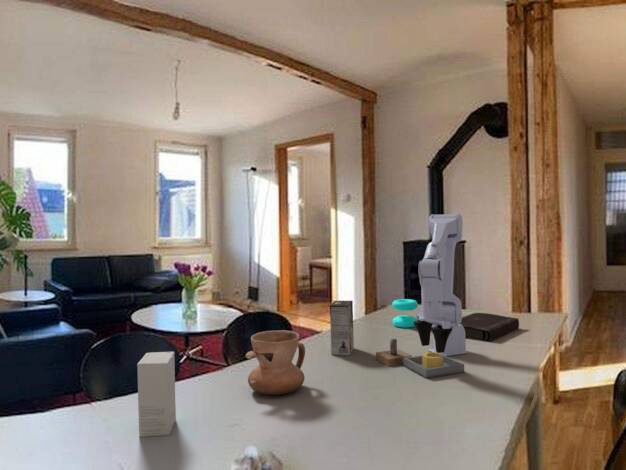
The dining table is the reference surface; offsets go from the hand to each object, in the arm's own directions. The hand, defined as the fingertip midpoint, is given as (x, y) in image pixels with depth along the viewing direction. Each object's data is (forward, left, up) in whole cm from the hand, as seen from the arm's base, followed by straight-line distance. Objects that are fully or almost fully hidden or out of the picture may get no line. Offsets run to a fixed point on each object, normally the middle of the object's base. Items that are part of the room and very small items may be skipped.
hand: (432, 348), depth 142 cm
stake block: (+6, -12, -6) cm, 15 cm away
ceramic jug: (+45, -2, -6) cm, 46 cm away
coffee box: (+16, -28, -6) cm, 33 cm away
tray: (0, 0, -6) cm, 6 cm away
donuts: (-21, -52, -6) cm, 56 cm away
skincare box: (+75, +11, -6) cm, 76 cm away
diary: (-41, -31, -7) cm, 52 cm away
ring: (0, 0, -5) cm, 5 cm away
